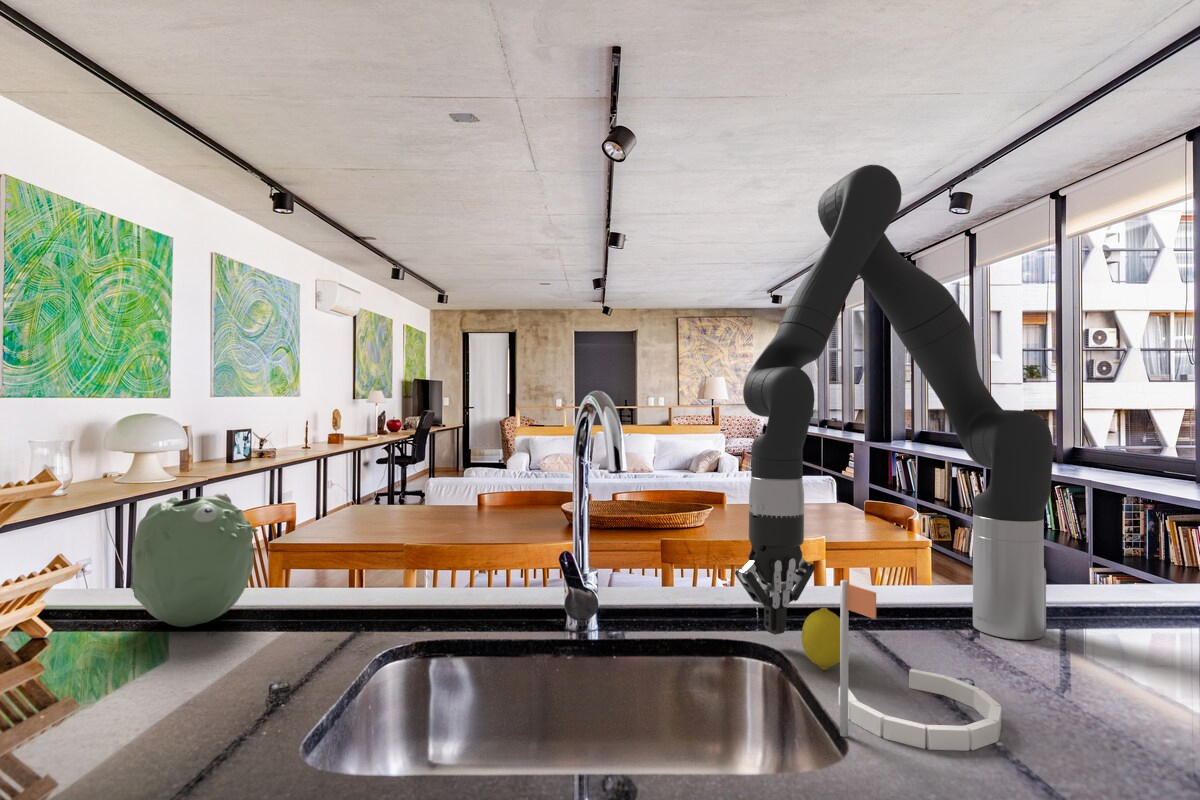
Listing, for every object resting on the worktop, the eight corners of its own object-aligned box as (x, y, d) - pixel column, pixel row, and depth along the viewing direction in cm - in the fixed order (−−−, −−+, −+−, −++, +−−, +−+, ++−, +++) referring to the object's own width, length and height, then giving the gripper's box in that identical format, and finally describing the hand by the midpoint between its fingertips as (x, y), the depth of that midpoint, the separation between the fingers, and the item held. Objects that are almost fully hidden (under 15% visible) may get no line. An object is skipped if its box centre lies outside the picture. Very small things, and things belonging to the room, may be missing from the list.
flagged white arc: (922, 681, 86) (922, 552, 86) (1033, 729, 74) (1034, 578, 73) (802, 713, 77) (802, 569, 77) (906, 773, 65) (906, 601, 65)
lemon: (849, 680, 86) (849, 615, 86) (803, 676, 87) (803, 612, 87) (843, 663, 92) (843, 602, 92) (799, 660, 93) (799, 600, 93)
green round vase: (172, 606, 116) (172, 487, 116) (279, 610, 114) (279, 488, 114) (94, 638, 100) (94, 500, 100) (216, 644, 98) (216, 502, 98)
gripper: (793, 502, 104) (792, 618, 104) (721, 508, 98) (720, 631, 98) (831, 510, 97) (829, 634, 97) (756, 516, 91) (754, 648, 91)
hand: (774, 632), depth 98 cm, fingers closed
